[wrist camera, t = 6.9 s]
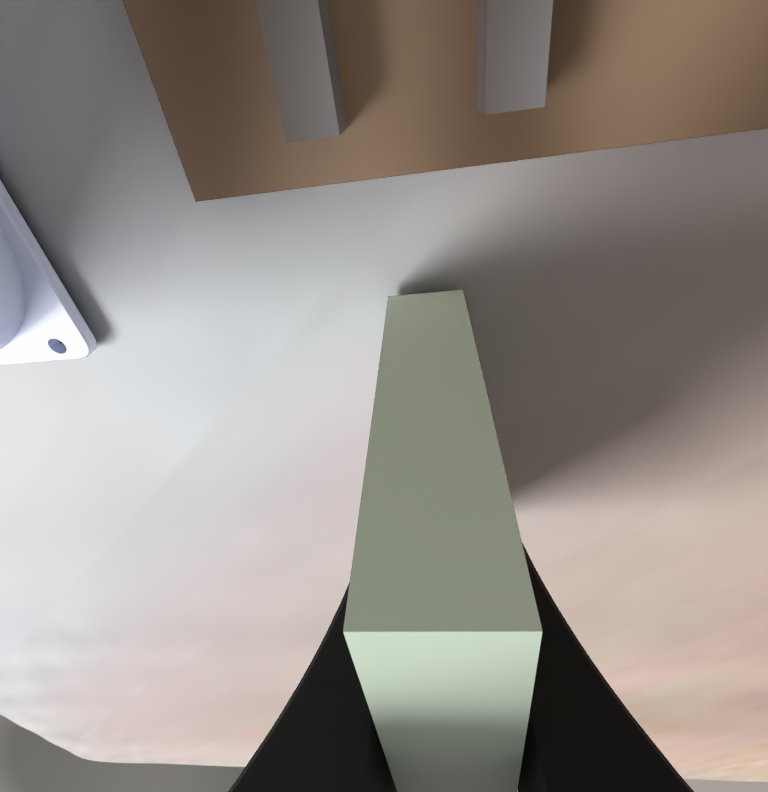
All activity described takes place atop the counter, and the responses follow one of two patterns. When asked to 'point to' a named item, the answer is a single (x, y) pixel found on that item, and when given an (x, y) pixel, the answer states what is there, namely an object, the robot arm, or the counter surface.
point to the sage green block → (440, 565)
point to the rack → (439, 82)
